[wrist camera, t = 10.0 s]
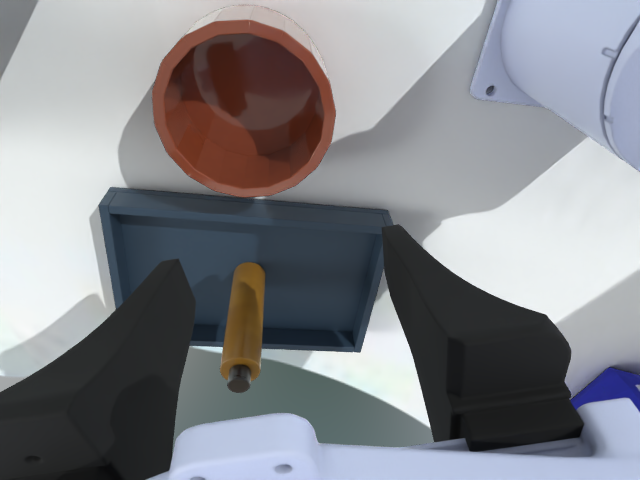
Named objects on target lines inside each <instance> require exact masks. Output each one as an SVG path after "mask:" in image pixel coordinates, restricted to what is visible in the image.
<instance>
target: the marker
mask: <svg viewBox="0 0 640 480" xmlns="http://www.w3.org/2000/svg"><path fill="white" fill-rule="evenodd" d="M264 293H265V271H264V269H263V268H262V267H261V266H260V265H258V264H256V263H252V262H246V263H242V264H240V265H239V266H237V267H236V269H235V270H234V275H233V282H232V289H231V296H230V303H229V310H228V316H227V323H226V330H225V337H224V344H223V351H222V358H221V365H220V372H221V375H222V376H223V377H224V378H225V379H226V380H228V383H227V386H228V388H229V390H231V391H232V392H236V393H242V392H245V391H247V390H248V389H249V388H250V383H251V381H253V380H254V379H256V378H257V377H258V376H259V374H260V370H261V351H262V331H263V312H264Z"/></svg>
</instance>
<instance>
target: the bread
mask: <svg viewBox="0 0 640 480" xmlns="http://www.w3.org/2000/svg"><path fill="white" fill-rule="evenodd" d="M619 398H629V399H630V400H631V401H632V402H633V404H634V405H635V406H636V408H637V409H638V411H639V412H640V375H636V374H633V373H629V372H625V371H622V370H618V369H614V368H610V367H609V368H607V369H606V370H605V371H604V372H603V373H602V374H600V375H599V376H598V377H597V378H596V379H595V380H593V381H592V382H591V383H590V384H589V385H588V386H586V387H585V388H584V389H583V390H582V391H581V392H580V393H578V394H577V395H576V396H575V397H574V398H573V399H571V400H570V401H571V403H572V405H573V406H574V408H575V410H577V409H578V408H579V407H580V406H582V405H584V404H587V403H591V402H598V401H605V400H612V399H619Z"/></svg>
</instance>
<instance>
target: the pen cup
mask: <svg viewBox="0 0 640 480" xmlns="http://www.w3.org/2000/svg"><path fill="white" fill-rule="evenodd" d="M152 105H153V118H154V124H155V128H156V130H157V132H158V134H159V136H160V139H161V141H162V143H163V145H164V148H165V150H166V152H167V153H168V155H169V156H170V157H171V158H172V159H173V160H174V161H175V162H176V163H177V164H178V166H179V167H180V168H181V169H182V170H183V171H184V172H185V173H186V174H187V175H188V176H189V177H191V178H193V179H194V180H196V181H198V182H199V183H201V184H203V185H205V186H206V187H208V188H210V189H211V190H214V191H216V192H220V193H225V194H229V195H233V196H237V197H243V198H245V197H260V196H270V195H274V194H276V193H279V192H281V191H284V190H286V189H289V188H291V187H294V186H296V185H297V184H299V183H300V182H301V181H302V180H303V179H304V178H306V177H307V176H308V175H309V174H310V173H311V172H312V171H314V170H315V169H316V168H317V167H318V165H319V164H320V162H321V160H322V158H323V157H324V155H325V153H326V151H327V149H328V148H329V146H330V144H331V142H332V136H333V130H334V123H335V117H336V110H335V105H334V100H333V95H332V90H331V85H330V81H329V78H328V74H327V71H326V68H325V64H324V61H323V59H322V57H321V56H320V54H319V52H318V50H317V48H316V46H315V45H314V43H313V41H312V40H311V39H310V37H309V36H308V35H307V34H306V33H305V31H304V30H303V29H302V28H301V27H299V26H298V25H297V24H296V23H295V22H293V21H292V20H291V19H289V18H288V17H286V16H284V15H283V14H281V13H279V12H277V11H274V10H271V9H269V8H265V7H261V6H256V5H233V6H229V7H224V8H221V9H218V10H216V11H213V12H211V13H210V14H208V15H206V16H205V17H203V18H201V19H199V20H198V21H196V23H195V24H194V25H193V26H192V27H191V28H190V29H189V30H188V31H187V32H186V33H185V34H184V36H183V37H182V38H181V39H180V40H179V41H178V42H177V44H176V45H175V46H174V47H173V48H172V49H171V51H170V52H169V53H168V54H167V55H166V56H165V58H164V59H163V60H162V62H161V64H160V67H159V70H158V73H157V76H156V80H155V83H154V86H153V89H152Z"/></svg>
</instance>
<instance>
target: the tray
mask: <svg viewBox="0 0 640 480" xmlns="http://www.w3.org/2000/svg"><path fill="white" fill-rule="evenodd" d="M99 211H100V217H101V223H102V229H103V235H104V241H105V247H106V252H107V258H108V264H109V270H110V276H111V282H112V288H113V294H114V300H115V306H116V309H117V308H118V307H119V306H120V305H121V304H122V303H123V302H124V301H125V300H126V299H127V298H128V297H129V296H130V295H131V294H132V293H133V292H134V291H135V290H136V289H137V287H138V286H139V285H140V284H141V283H142V282H143V281H144V280H145V279H146V277H147V276H148V275H149V274H150V273H151V272H152V271H153V270H154V268H155V267H156V266H157V265H158V264H159V263H160V262H161V261H165V260H171V259H178V258H179V261H180V263H181V265H182V268H183V270H184V273H185V275H186V278H187V280H188V283H189V285H190V287H191V290H192V292H193V295H194V297H195V300H196V308H195V320H194V327H193V332H192V336H191V341H190V345H189V346H211V347H223V344H224V337H225V330H226V323H227V316H228V310H229V303H230V296H231V289H232V282H233V275H234V270H235V269H236V267H237V266H239V265H240V264H242V263H246V262H252V263H256V264H258V265H260V266H261V267H262V268H263V269H264V271H265V293H264V312H263V331H262V349H286V350H311V351H336V352H361V349H362V345H363V341H364V338H365V334H366V331H367V327H368V323H369V320H370V316H371V312H372V309H373V305H374V301H375V298H376V294H377V291H378V287H379V283H380V280H381V276H382V272H383V269H384V255H383V241H382V227H385V226H392V225H393V223H392V220H391V217H390V215H389V212H388V210H377V209H365V208H353V207H342V206H330V205H318V204H306V203H294V202H282V201H270V200H258V199H246V198H234V197H222V196H210V195H198V194H186V193H174V192H162V191H150V190H139V189H127V188H115V187H110V189H109V190H108V192H107V193H106V195H105V196H104V198H103V199H102V201H101V202H100V204H99Z"/></svg>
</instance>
